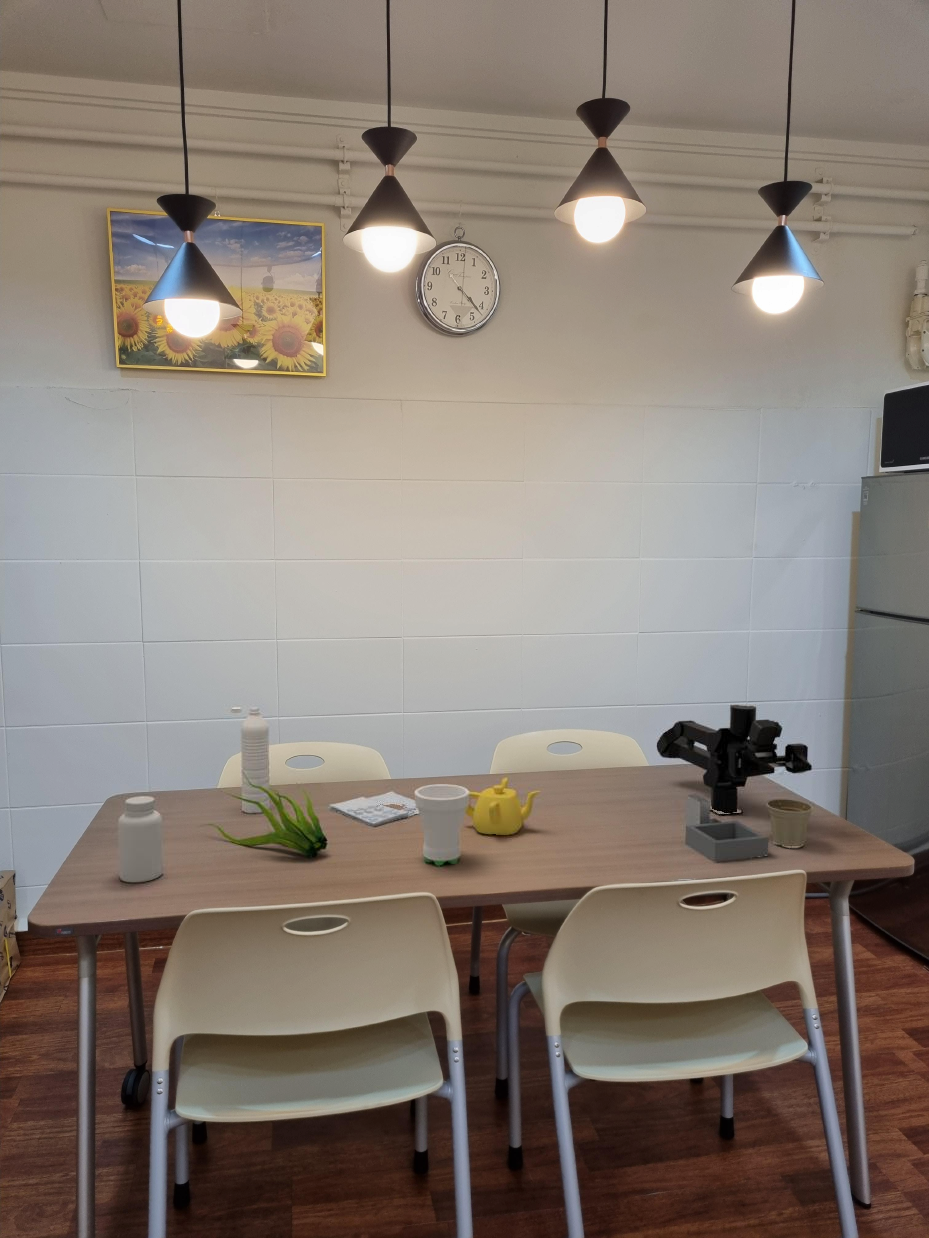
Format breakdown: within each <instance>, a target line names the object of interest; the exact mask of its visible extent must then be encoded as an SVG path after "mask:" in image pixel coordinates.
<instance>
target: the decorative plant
mask: <svg viewBox="0 0 929 1238" xmlns="http://www.w3.org/2000/svg"><path fill="white" fill-rule="evenodd" d="M242 771H243V770H242V769H241V772H242ZM243 773H244V772H243ZM244 775H245V774H244ZM245 777H246V776H245ZM246 779H247V778H246ZM247 780H248V779H247ZM248 782H249V784H250V785H252V786H253V787H255V788H258V789H261V790H262V791H264V792H265V793H267V794H268V796H269V799H270V801H272V803H273V804H274V806H275V807H276V809H277V812H278V815H279V818H280V821H281V823H280V821H278V819H277V818H276V816H275V815H274V814H273V813H272V811H271V810H270V809H269V810H268V809H267V808H266V807H264V806H263V805H262V804H261V803H259V802H256V801H252V800H248V799H244V798H242V796H241V797H240V796H236V795H234V794H230V793H227V792H225V791H222V790H218V791H219V792H221V793H224V794H226V795H229V796H231V797H234V798H236V799H238V800H241V801H246V802H249V803H253V804H256V805H257V806H258V807H259V808H260V809H261V811H262V813H263V814H264V816H265V817H266V819H267V820H268V821H269V823H270V825H271V826H272V828H273V830H274V831H272V830H271V829H270V827H269V826H267V828H268V829H269V831H268V833H267V834H262V835H257V836H252V837H246V838H241V839H236V838H235V837H233V836H232V835H229V834H228V833H226V832H225V831H224V830H223V829H222V827H220V826H219V825H218V824H214V823H210V824H209V823H208V824H201V825H199V826H197V828H199V827H202V826H214V827H215V828H216V829H218V831H219V832H220V833H221V835H222V836H223V837H224V838H226V839H227V840H229V841H230V842H233V844H235V845H243V846H250V847H255V846H262V845H271V844H275V845H277V844H278V845H285V846H287V847H288V848H290V849H293V850H296V851H298V852H301V853H302V854H304V855H305V856H307V857H311V858H313V859H315V858H316V857H317V855H318V854H319V852H320V851H322V850H326V849H327V846H328V839H327V837H326V835H325V834H324V832H323V829H322V826H321V825H320V820H319V819H320V818H319V817H318V816H317V815H316V814H315V812H314V809H313V805H312V804H313V803H312V802H311V799H310V797H309V795H308V794H307V792H306V791H305V790H304V789H302V788H301V787H300V786H299V784H298V783H297V782H295V784H296V785H297V786H298V788H299V789H300V790H301V791H302V792H303V794H305V797H306V811H307V812H306V813H307V816H308V818H309V819H310V820H311V822H310V820H309V819H307V818H306V816H305V813H304V812H303V810H302V808H301V807H300V805H298V804H297V802H296V801H295V800H293V799H292V798H290V797H289V796H287V795H283V794H280V793H279V791H278V790H276V788H273V787H272V785H271V784H270V783H269V790H267V789H265V788H263V787H262V786H255V785H253V784H251V783H250V781H249V780H248ZM270 790H271V791H272V792H273V793H274V794H275V795H274V794H273V793H272V792H271V791H270ZM277 797H278V798H277ZM281 798H282V799H285V800H286V802H288V803H290V804H291V806H292V809H293V811H294V813H295V817H296V819H294V818H293V817H292V816H291V815H290V814H289V813H288V812H287V810H286V809H285V806H284V805H283V802H282V800H281ZM281 824H282V825H281ZM270 832H271V833H270Z"/></svg>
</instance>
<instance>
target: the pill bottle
mask: <svg viewBox="0 0 929 1238" xmlns="http://www.w3.org/2000/svg"><path fill="white" fill-rule="evenodd" d="M124 805H125V806H124V808H125V809H124V813H123V814H122V815H120V817H119V818H118V821H117V841H118V845H117V847H118V849H117V850H118V873H119V878H120V881H122V882H126V883H143V882H148V881H152V880H155V879H157V878H159V877H161V876H162V874H163V871H164V858H163V857H164V855H163V852H164V849H163V847H164V846H163V819H162V815H161V814H160V812H158V811H157V810H154V809H155V805H156V799H155V798H154V797H153V796H148V795H146V796H143V795H142V796H141V795H140V796H134V797H130V798H127V799H126V800H125V802H124Z"/></svg>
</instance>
